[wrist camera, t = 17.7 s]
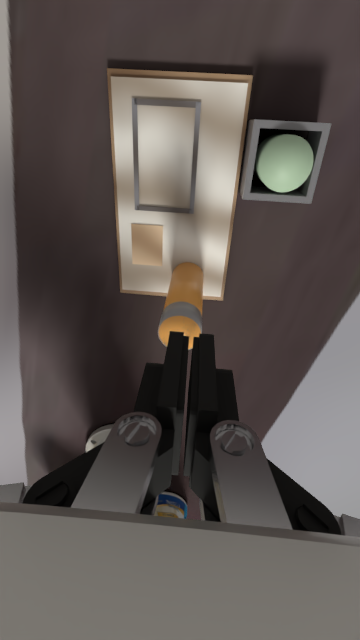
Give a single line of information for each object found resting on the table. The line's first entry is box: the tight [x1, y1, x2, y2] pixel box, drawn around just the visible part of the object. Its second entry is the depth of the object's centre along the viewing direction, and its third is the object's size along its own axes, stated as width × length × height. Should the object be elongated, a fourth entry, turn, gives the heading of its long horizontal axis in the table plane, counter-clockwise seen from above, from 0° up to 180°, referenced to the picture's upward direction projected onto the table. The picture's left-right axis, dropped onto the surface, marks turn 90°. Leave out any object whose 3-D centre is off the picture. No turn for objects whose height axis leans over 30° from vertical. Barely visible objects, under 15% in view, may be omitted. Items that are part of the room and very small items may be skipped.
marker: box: [158, 262, 204, 350], centre depth 28 cm, size 3×3×10 cm
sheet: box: [107, 68, 253, 301], centre depth 29 cm, size 19×11×1 cm, turn 177°
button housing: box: [239, 119, 332, 204], centre depth 25 cm, size 5×5×4 cm
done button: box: [254, 134, 313, 192], centre depth 25 cm, size 4×4×4 cm
